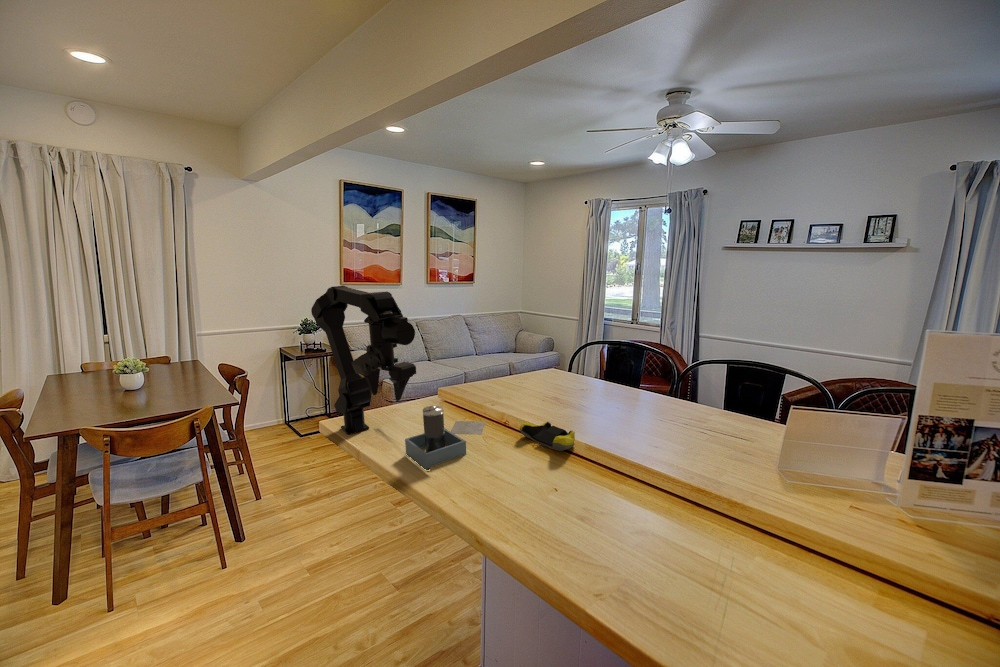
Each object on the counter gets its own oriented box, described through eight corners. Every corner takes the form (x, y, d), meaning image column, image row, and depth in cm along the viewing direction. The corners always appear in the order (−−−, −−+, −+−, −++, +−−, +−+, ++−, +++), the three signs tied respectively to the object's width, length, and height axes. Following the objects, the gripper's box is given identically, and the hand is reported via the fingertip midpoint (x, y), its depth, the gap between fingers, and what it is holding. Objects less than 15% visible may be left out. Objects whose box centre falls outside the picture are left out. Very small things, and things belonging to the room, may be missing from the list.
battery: (426, 450, 114) (423, 404, 111) (445, 448, 114) (442, 402, 112) (425, 459, 109) (422, 411, 107) (445, 457, 109) (442, 409, 107)
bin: (406, 454, 113) (404, 438, 112) (444, 442, 119) (443, 427, 119) (426, 471, 104) (425, 454, 103) (466, 457, 111) (465, 441, 110)
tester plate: (449, 436, 123) (449, 433, 123) (456, 424, 132) (455, 421, 131) (481, 437, 122) (481, 434, 122) (485, 424, 131) (485, 421, 131)
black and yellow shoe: (559, 461, 108) (584, 448, 114) (559, 440, 107) (584, 428, 113) (516, 442, 119) (541, 431, 125) (515, 423, 118) (541, 413, 124)
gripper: (332, 342, 113) (338, 400, 116) (381, 350, 103) (386, 414, 106) (367, 335, 122) (372, 388, 125) (415, 341, 112) (419, 400, 115)
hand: (386, 397), depth 117 cm, fingers open, 9 cm apart
